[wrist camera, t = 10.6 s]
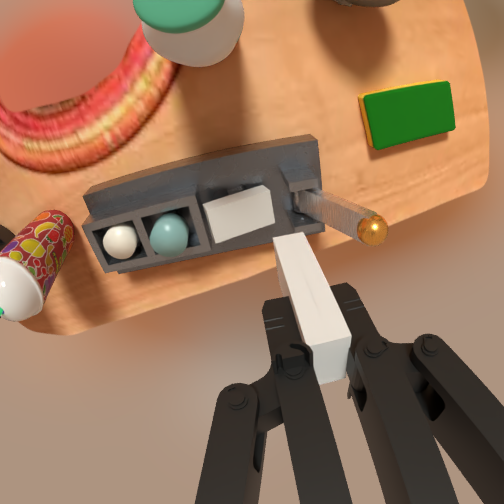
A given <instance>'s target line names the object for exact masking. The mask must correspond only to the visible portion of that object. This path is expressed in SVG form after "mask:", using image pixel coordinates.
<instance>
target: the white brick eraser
mask: <svg viewBox="0 0 504 504" xmlns="http://www.w3.org/2000/svg"><path fill="white" fill-rule="evenodd" d="M203 208H204V211H205V215H206V218H207V222H208V225H209V229H210V232H211V236H212V238H213V239H214V241H215V243H219V242H222V241H225V240H228V239H231V238H233V237H236V236H239V235H242V234H245V233H248V232H250V231H253V230H256V229H259V228H262V227H265V226H268V225H271V224H273V223H275V219H274V213H273V207H272V200H271V194H270V190H269V189H267V188H266V187H265V186H264V185H260V186H257V187H254V188H251V189H247V190H244V191H241V192H238V193H235V194H232V195H229V196H226V197H222V198H219V199H216V200H213V201H210V202H207V203H204V204H203Z"/></svg>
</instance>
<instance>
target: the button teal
mask: <svg viewBox="0 0 504 504" xmlns="http://www.w3.org/2000/svg"><path fill="white" fill-rule="evenodd" d="M188 235H189V226H188V223H187V222H186V220H185V219H184V218H183V217H181V216H180V215H177V214H174V213H167V214H164V215H162V216H160V217H159V218H158V219H157V220H156V222H155V224H154V227H153V230H152V232H151V235H150V244H151V246H152V248H153V249H154V251H155V252H157V253H158V254H160V255H162V256H165V257H175V256H178V255H180V254H181V253H183V252H184V250H185V249H186V246H187V242H188Z"/></svg>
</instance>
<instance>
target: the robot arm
mask: <svg viewBox="0 0 504 504" xmlns="http://www.w3.org/2000/svg"><path fill="white" fill-rule="evenodd" d="M14 237H16V236H15V235H14V234H13V233H11V232H10V231H9V230H8V229H7V228H5V227H4V226H2V225H0V251H1V250H2V249H3V248H4V247H5V246H6V245H7V244H8V243H9V242H10V241H11V240H12V239H13V238H14ZM273 244H274V251H275V258H276V265H277V272H278V279H279V283H280V287H281V291H282V294H283V297H282V298H276V299H271V300H267V301H265V303H264V306H263V309H262V314H263V319H264V324H265V329H266V334H267V339H268V345H269V350H270V355H271V367H270V369H269V371H268V373H267V374H266V375H265V376H264V377H262V378H261V379H259V380H258V381H256V382H254V383H252V384H250V385H247V384H243V383H235V384H231V385H229V386H227V387H225V388H224V389H223V390H222V391H221V392H220V394H219V396H218V398H217V402H216V407H215V412H214V416H213V421H212V426H211V431H210V435H209V440H208V444H207V449H206V454H205V458H204V463H203V467H202V472H201V477H200V481H199V486H198V491H197V496H196V500H195V504H258V500H259V492H260V485H261V477H262V470H263V462H264V454H265V445H266V438H267V431H269V430H271V429H273V428H275V427H276V426H278V425H280V424H282V423H284V425H285V431H286V435H287V441H288V446H289V450H290V455H291V461H292V465H293V470H294V475H295V480H296V485H297V490H298V495H299V500H300V504H352V500H351V497H350V493H349V489H348V485H347V481H346V478H345V474H344V470H343V467H342V463H341V460H340V456H339V452H338V449H337V445H336V442H335V438H334V435H333V431H332V428H331V424H330V421H329V417H328V414H327V410H326V407H325V404H324V400H323V397H322V393H321V390H320V386H319V385H321V384H324V383H328V382H332V381H336V380H340V379H343V378H345V377H346V371H347V374H348V377H349V380H350V384H349V388H348V393H347V396H348V399H350V398H351V396H352V399H353V401H354V404H355V407H356V410H357V413H358V416H359V419H360V422H361V425H362V428H363V431H364V434H365V437H366V440H367V443H368V446H369V450H370V453H371V456H372V459H373V462H374V465H375V469H376V472H377V475H378V478H379V482H380V485H381V488H382V492H383V495H384V499H385V502H386V504H459V503H458V500H457V497H456V494H455V491H454V488H453V486H452V483H451V480H450V477H449V475H448V472H447V469H446V467H445V464H444V461H443V459H442V456H441V454H440V451H439V448H438V446H437V444H436V441H435V439H434V437H435V438H436V439H437V441H438V442H439V443H440V444H441V446H442V447H443V449H444V450H445V451H446V453H447V454H448V455H449V456H450V458H451V459H452V461H453V462H454V463H455V465H456V466H457V467H458V469H459V470H460V471H461V473H462V474H463V476H464V477H465V478H466V480H467V481H468V482H469V484H470V485H471V486H472V488H473V489H474V491H475V492H476V493H477V495H478V496H479V498H480V499H481V500H482V502H483V503H484V504H504V407H503V405H502V404H501V403H500V402H499V401H498V400H497V398H496V397H495V396H494V395H493V394H492V393H491V391H490V390H489V389H488V388H487V387H486V386H485V385H484V384H483V382H482V381H481V380H480V379H479V378H478V377H477V376H476V375H475V374H474V373H473V371H472V370H471V369H470V368H469V367H468V366H467V365H466V364H465V363H464V362H463V361H462V360H461V359H460V358H459V357H458V355H457V354H456V353H455V352H454V351H453V350H452V349H451V348H450V347H449V346H448V345H447V344H446V343H445V342H444V341H443V340H442V339H441V338H439V337H438V336H436V335H433V334H423V335H421V336H419V337H418V338H417V339H416V340H415V342H414V343H402V344H400V343H392V342H389V341H388V340H387V339H385V338H384V337H382V336H380V334H379V333H378V331H377V330H376V327H375V326H374V324H373V322H372V320H371V318H370V316H369V314H368V312H367V310H366V308H365V307H364V304H363V303H362V301H361V300H360V297H359V295H358V293H357V291H356V290H355V289H354V288H353V287H352V286H350V285H349V284H348V283H342V284H338V285H333V286H329V284H328V282H327V280H326V278H325V276H324V274H323V272H322V270H321V268H320V265H319V263H318V261H317V259H316V257H315V255H314V253H313V251H312V249H311V247H310V245H309V243H308V241H307V239H306V237H305V235H304V233H303V232H300V233H294V234H289V235H284V236H279V237H274V238H273ZM0 318H1V316H0ZM433 435H434V436H433Z"/></svg>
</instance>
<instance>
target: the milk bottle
mask: <svg viewBox="0 0 504 504" xmlns="http://www.w3.org/2000/svg"><path fill="white" fill-rule="evenodd" d="M133 5H134V8H135V11H136V13H137V15H138V16H139V18H140V19H141V20H142V30H143V34H144V36H145V39H146V40H147V42H148V44H149V45H150V46H151V47H152V49H153V50H154V51H155V52H157V53H158V54H159V55H161V56H162V57H164V58H166V59H168V60H170V61H172V62H175V63H179V64H182V65H187V66H191V67H206V66H211V65H214V64H216V63H218V62H220V61H222V60H223V59H225V58H226V57H227V56H228V55H229V54H230V53H231V52H232V50H233V49H234V47H235V45H236V44H237V42H238V40H239V37H240V35H241V33H242V29H243V24H244V8H243V5H242V2H241V0H133Z"/></svg>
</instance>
